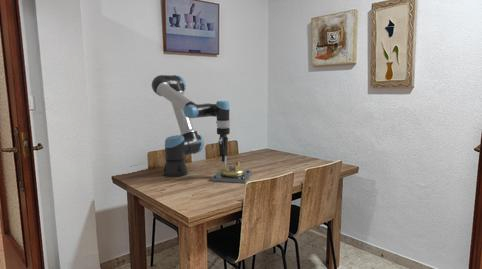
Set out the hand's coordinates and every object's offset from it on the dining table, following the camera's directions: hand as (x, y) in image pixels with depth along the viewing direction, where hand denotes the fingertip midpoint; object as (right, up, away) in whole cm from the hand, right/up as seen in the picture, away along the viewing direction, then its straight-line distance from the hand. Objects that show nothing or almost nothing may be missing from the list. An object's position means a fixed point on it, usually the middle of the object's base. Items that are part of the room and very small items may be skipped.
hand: (223, 166), depth 204 cm
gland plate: (+5, -6, -1) cm, 8 cm away
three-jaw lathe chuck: (+5, -4, -2) cm, 7 cm away
